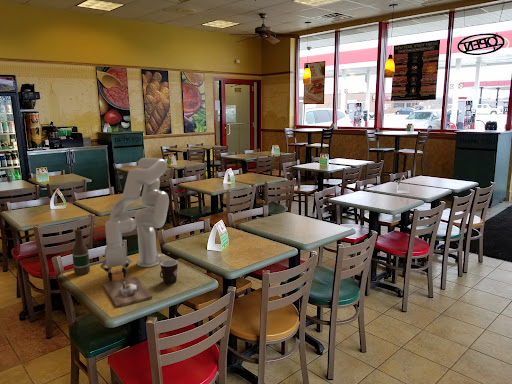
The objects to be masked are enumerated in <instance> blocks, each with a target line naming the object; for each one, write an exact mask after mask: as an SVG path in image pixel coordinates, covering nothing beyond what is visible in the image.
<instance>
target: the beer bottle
mask: <svg viewBox="0 0 512 384" xmlns="http://www.w3.org/2000/svg"><path fill="white" fill-rule="evenodd" d="M74 237H75V238H74V239H75V241H74V242H75V243H74V246H73V249H72V263H73V271H74V274H75V275H76V276H85V275H87V274H90V271H91V267H90V255H89V248H88V247H87V245H86V244H85V243H84V237H83V229H81V228H77V229H75V230H74Z"/></svg>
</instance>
